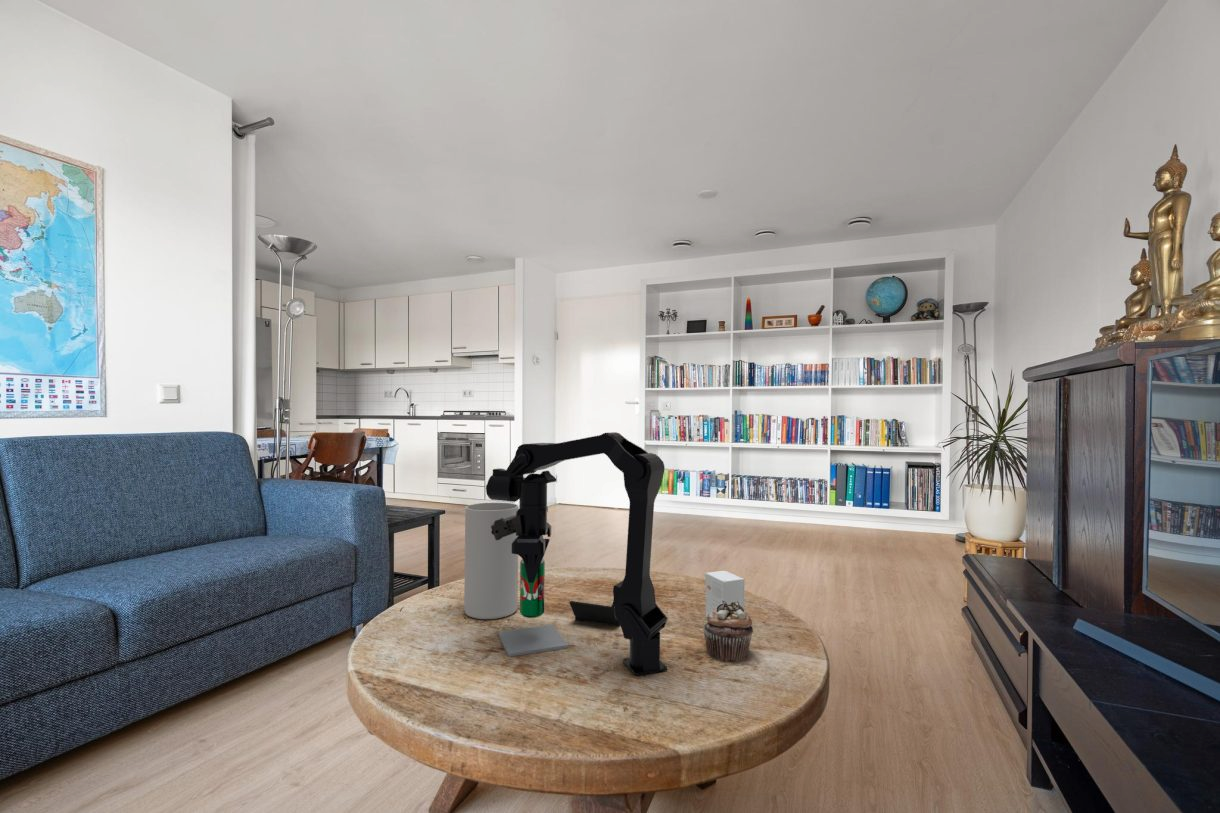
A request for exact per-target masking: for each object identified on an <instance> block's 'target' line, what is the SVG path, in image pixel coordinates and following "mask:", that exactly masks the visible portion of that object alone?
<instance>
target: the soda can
mask: <svg viewBox="0 0 1220 813" xmlns="http://www.w3.org/2000/svg"><path fill="white" fill-rule="evenodd" d="M519 566H520V567H519V571H520V572H519V573H520V575H519V613H520V615H521V616H522V617H524V618H528V619H533V618H539V617H542V615H544V613H545V603H546V602H545V596H546V594H545V593H546V592H545V587H546V586H545V582H546V579H545V572H546V569H545V568H546V561H545V559H544V558H543V559H542V561H541V564H540V567H539V569H538V572H537V575H536V578H535V580H534V582H533V583H529V582H528V579H527V574H526V570H525V566H524V562H523V559H522V558H521V560H520V565H519Z"/></svg>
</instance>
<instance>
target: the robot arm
mask: <svg viewBox="0 0 1220 813" xmlns="http://www.w3.org/2000/svg"><path fill="white" fill-rule="evenodd" d="M598 455H606V456H607V458H608V459H609V460H610V462H611V463H612V464H613V465H614V467H615V468H616V469H618V470H619V471H620V472H621V473H622V474H623V486H624V490H625V492H626V494H627V497H628V500H629V509H628V510H629V511H628V522H627V523H628V525H627V526H628V527H627V538H626V542H627V543H626V555H625V556H626V557H625V573H624V577H623V580H622V581H620V582H618V583H616V584H615V585H613V588H612V592H613V593H612V595H613V600H612V604H611V608H614V607H615V608H614V614H615V618H616V619H617V620H618V621H619V623H620V628H621V631H622V634H623V638H624V639H625V640H629V657H626V658H622V663H624V665H625V666H626V667H627V668H628V669H629V670H630V671H631V672H632V674H634V675H635V676H641V675H647V674H648V675H649V674H652V673H658V672H659V673H660V672H665V671H667V670H668V666H667V665H666V664H665V663H663V662H662V660H661V631H662V630H663V629H665V628H666V624H667V622H668V617H667V615H666V614H665V613H664V612H663V610H661V608H660V607H659V605H658V604H657V603H656V591H655V587H654V584H653V582H652V579H651V576H650V575H651V574H650V573H651V558H652V541H653V527H654V524H653V523H654V513H655V512H654V509H655V508H654V507H655V501H656V499H657V496H658V494H659V491H660V489H661V487H662V482H663V478H664V474H665V469H666V468H665V463H664V461H663V460H662V459H661V457H660V456H658V454H656V453H653V452H648V451H646V450H645V449H644V448H642V447H640V446H639V445H637V444H635V443H633V442H632V441H630V440H628V439H627V438H625V437H624V436H623V435H622V434H621V433H619V432H617V431H616V432H614V431H613V432H604V433H602V434H598V435H594V436H589V437H584V438H579V439H573V440H567V441H562V442H536V443H534V442H533V443H532V442H531V443H522V444H520V445H519V446H517V450H516V451H515V455H514V457H513V459H512V460H511V461H510V463H509V465H508V467H507V468H506V469H505V468H493V469H492V474H491V476H490V477H489V478H488V480H487V483H486V485H485V492H486V496H487V497H488V499H490V500H492V501H502V502H510V503H511V502H512V503H513V502H514V503H515V502H518V506H519V509H518V511H517V512H516V515H514V516H511V517H508V518H505V519H504V518H501V519H499V520H495V521H494V523H493V524H492V525H491V529H492V531H491V533H492V534H493V535H494V537H495V540H500V539H502V537H505V536H508V535H511V534H513V533H515V532H516V536H518V537H517V538H516V539H515V540H514V541H513V543H512V554H518V557H520V558H521V560H522V559H523V562H524V566H525V570H526V574H527V579H528V582H529V583H533V582H534V580H535V578H536V575H537V572H538V569H539V567H540V564H541V561H542V559H544V556H545V553H546V551H547V549H548V545H549V543H550V538H551V536H552V525H551V524H550V523H549V522H548V511H549V506H548V484H549V483H550V484H551V483H555V482H557V477H555V476H553V474H552V473H551V472H550V471H549V470H547V469H548V468H551V467H554V466H556V465H558V464H560V463H561V462H564V461H568V460H574V459H580V458H585V457H590V456H591V457H592V456H598ZM542 470H543V471H542ZM537 471H541V473H536V472H537ZM524 475H527V476H524ZM518 500H519V501H518ZM544 536H547V538H544Z"/></svg>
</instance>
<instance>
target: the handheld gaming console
mask: <svg viewBox="0 0 1220 813" xmlns="http://www.w3.org/2000/svg"><path fill="white" fill-rule="evenodd" d="M569 604H570V608H571V610H572V613H573V615H574V618H575V619H574V620H575V621H578V622H587V623H593V624H598V625H599V624H600V625H607V626H613V627H620V628H621V625H620V623H619V621H618V620H617V619H616V618H615V614H614V608H615V607H614V608H611V606H612V605H611V606H610V605H604V604H603V605H602V604H595V603H588V602H582V601H573V600H569Z"/></svg>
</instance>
